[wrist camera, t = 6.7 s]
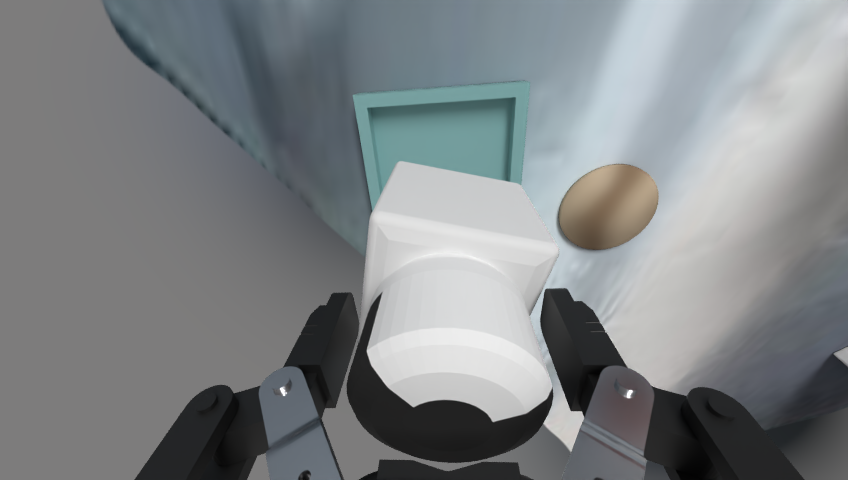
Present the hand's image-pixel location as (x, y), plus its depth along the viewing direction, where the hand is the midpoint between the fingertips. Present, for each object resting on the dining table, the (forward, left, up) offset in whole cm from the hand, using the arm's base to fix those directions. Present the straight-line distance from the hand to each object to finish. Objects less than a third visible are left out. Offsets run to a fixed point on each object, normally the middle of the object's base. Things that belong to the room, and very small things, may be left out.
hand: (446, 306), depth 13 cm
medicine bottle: (0, 0, -7) cm, 7 cm away
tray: (0, 0, -19) cm, 19 cm away
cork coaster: (-16, +5, -19) cm, 26 cm away
